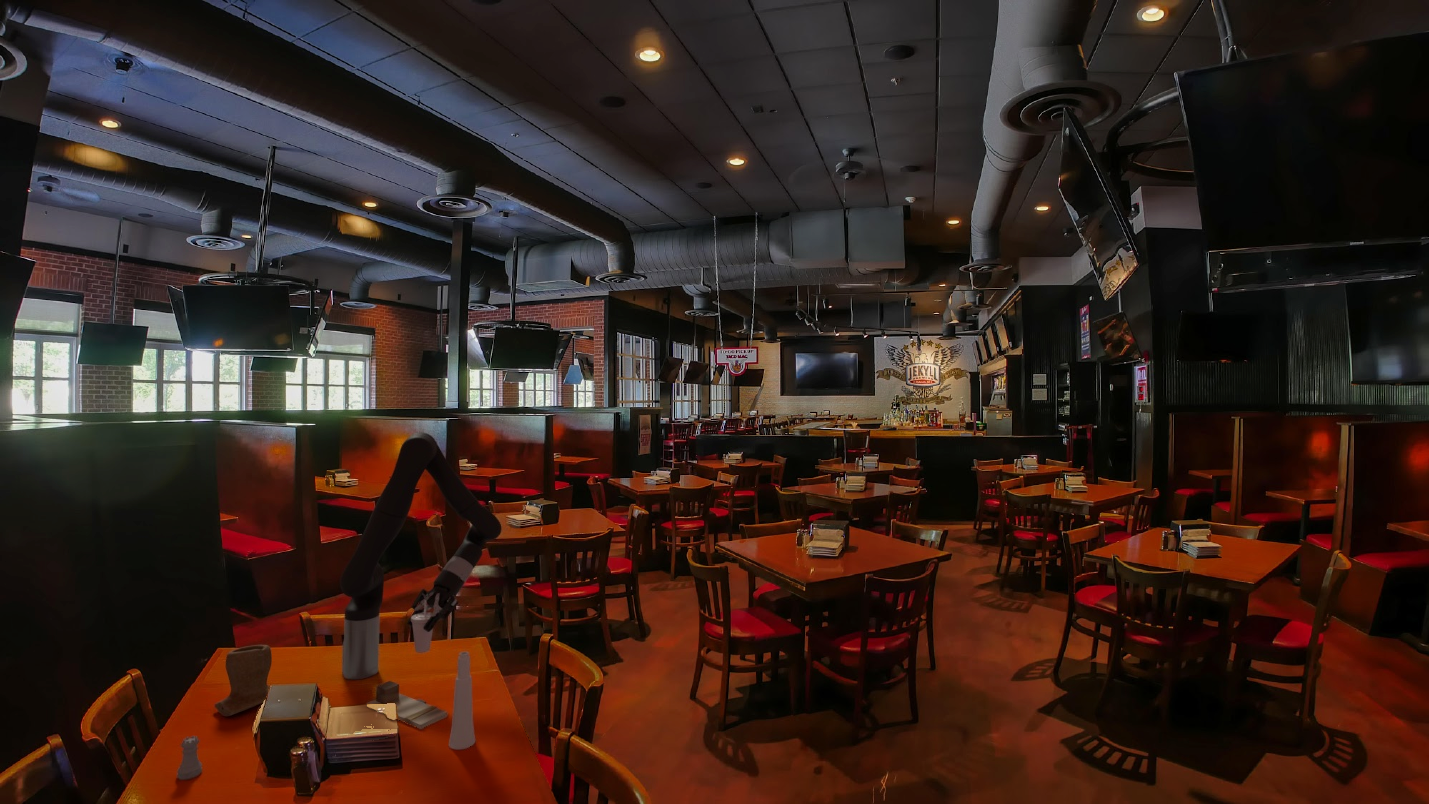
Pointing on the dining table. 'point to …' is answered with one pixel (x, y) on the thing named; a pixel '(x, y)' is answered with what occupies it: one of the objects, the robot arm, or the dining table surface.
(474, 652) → the dining table surface
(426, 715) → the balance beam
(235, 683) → the brown boot
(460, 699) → the cosmetic bottle
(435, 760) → the dining table surface
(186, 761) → the rook chess piece
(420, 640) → the white drink cup
